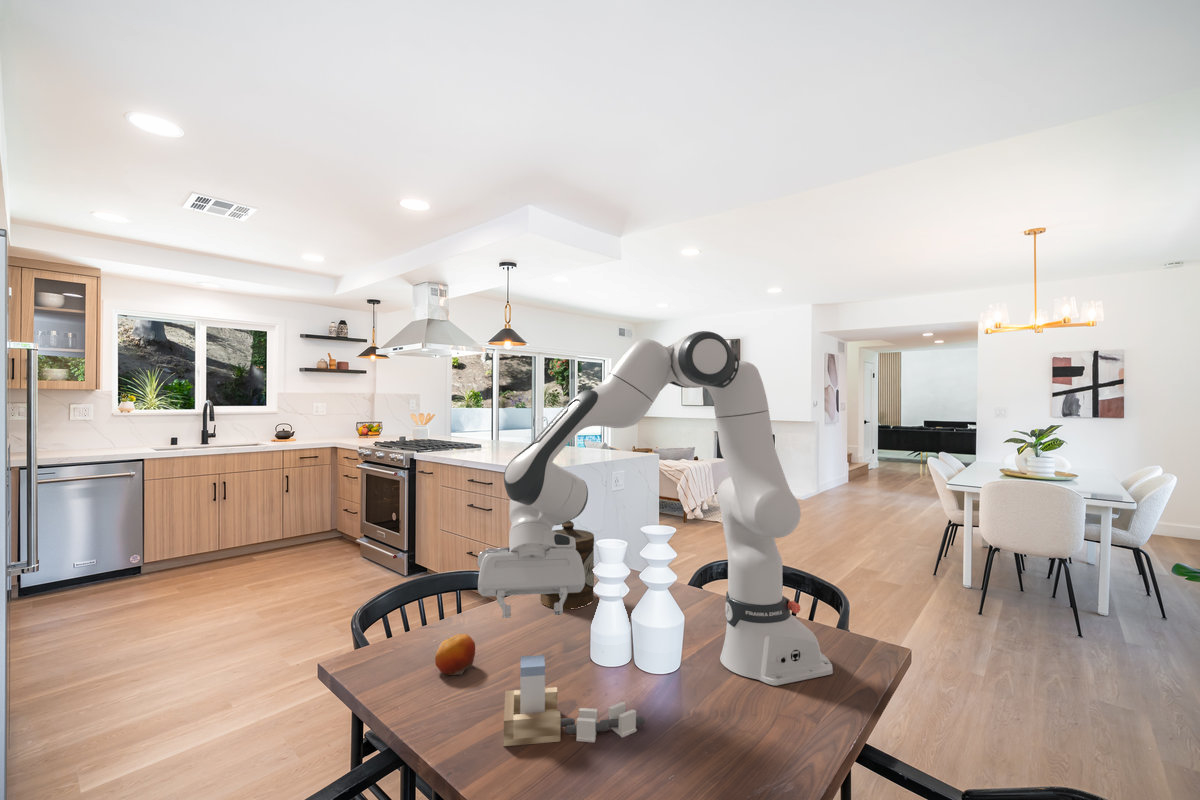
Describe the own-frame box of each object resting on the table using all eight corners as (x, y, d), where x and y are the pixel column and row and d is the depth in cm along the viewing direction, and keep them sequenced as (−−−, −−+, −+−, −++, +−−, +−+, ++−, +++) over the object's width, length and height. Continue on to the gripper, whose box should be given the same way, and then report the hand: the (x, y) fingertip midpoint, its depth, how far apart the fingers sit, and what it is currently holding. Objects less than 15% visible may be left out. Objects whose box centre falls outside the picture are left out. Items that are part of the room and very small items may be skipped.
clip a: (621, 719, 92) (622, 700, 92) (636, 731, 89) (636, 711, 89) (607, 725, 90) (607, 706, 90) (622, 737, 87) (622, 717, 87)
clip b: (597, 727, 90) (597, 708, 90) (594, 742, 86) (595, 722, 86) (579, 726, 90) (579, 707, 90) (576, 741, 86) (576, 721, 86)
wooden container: (599, 607, 143) (599, 525, 143) (544, 612, 140) (544, 528, 140) (587, 589, 158) (588, 514, 158) (537, 593, 154) (538, 516, 154)
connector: (543, 713, 92) (543, 654, 92) (544, 726, 88) (545, 666, 88) (520, 715, 91) (520, 656, 92) (520, 728, 88) (520, 667, 88)
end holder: (556, 709, 95) (556, 687, 95) (560, 741, 86) (560, 716, 86) (505, 713, 94) (505, 690, 94) (503, 746, 85) (503, 720, 85)
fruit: (469, 676, 104) (451, 637, 105) (439, 691, 106) (422, 653, 107) (491, 658, 111) (474, 622, 113) (463, 672, 113) (446, 637, 115)
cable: (642, 717, 92) (642, 710, 92) (647, 728, 89) (647, 721, 89) (548, 725, 90) (548, 718, 90) (549, 737, 86) (549, 729, 86)
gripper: (477, 540, 103) (473, 610, 93) (582, 537, 107) (589, 605, 97) (478, 556, 107) (474, 625, 98) (579, 553, 111) (585, 619, 101)
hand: (532, 615), depth 97 cm, fingers open, 8 cm apart
